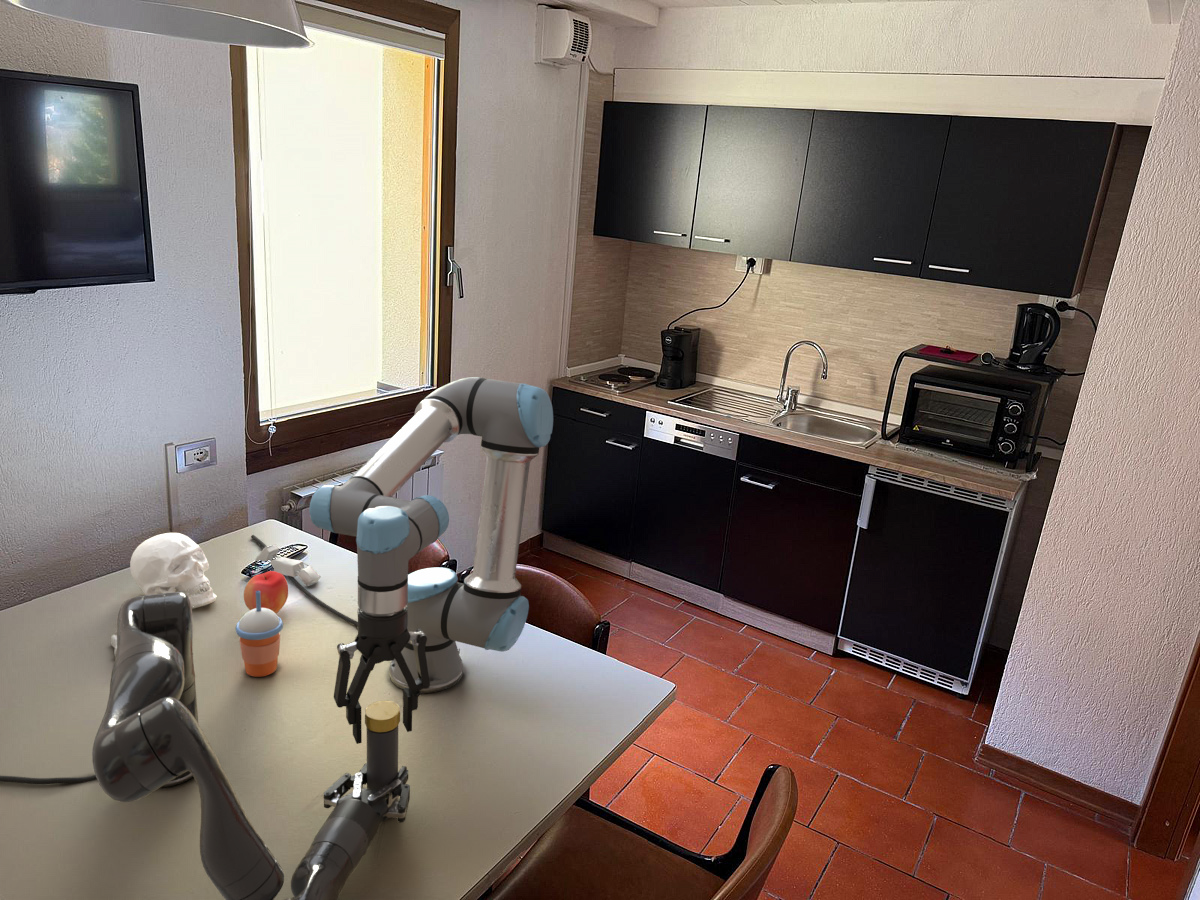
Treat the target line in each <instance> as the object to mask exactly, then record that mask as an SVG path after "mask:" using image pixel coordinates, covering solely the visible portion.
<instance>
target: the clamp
mask: <svg viewBox="0 0 1200 900" xmlns="http://www.w3.org/2000/svg"><path fill="white" fill-rule="evenodd" d="M266 546H267V547H265V548H264V549H263V548H262V550H261V551H260V552H259V554H258V555H257V556H256V557H255V559H254V562H255V563H256V561H259V560H262V561H268V560H271V562H270V563H269V564H271V565H272V566H273V568H274V571H275V572H278V573H281V574H282V575H283V576H286V575H287V576H292V577H294V578H296V577H298V578H299V579H300V580H301V582H303V584H304V585H305V587H309V586H312V585H314V584H316V583H318V582H319V580H320V579H321V578H322V577H321V575H320V574H319V573H318V572H317V570H315V569H314V568H313V566H312V565H310V564H309V565H308V564H307V563H305V562H304V561H303V560H301V559H300V560H299V559H292V558H289V557H285V556H278V553H279V551H280V549H281V547H279V546H278V545H277V544H272V545H266ZM275 557H277V559H276V558H275ZM273 558H275V559H274V560H272V559H273ZM305 566H306V567H305ZM270 571H271V570H270ZM287 576H286V577H287Z"/></svg>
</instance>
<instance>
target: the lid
mask: <svg viewBox="0 0 1200 900" xmlns="http://www.w3.org/2000/svg"><path fill="white" fill-rule="evenodd" d="M400 710H401V708H400V705H399V704H398V703H396V702H394V701H391V700H377V701H374V702H371V703H370V704H369V705H367V707H366V708H365V712H364V713H365V714H364V724H365V726H366V729H367V728H368V729H369V730H371V731H374V732H387V731H390V730H393V729H394V728H396V727H397V726H398V727H399V725H400V722H401V711H400Z"/></svg>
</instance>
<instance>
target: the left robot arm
mask: <svg viewBox="0 0 1200 900" xmlns="http://www.w3.org/2000/svg"><path fill="white" fill-rule="evenodd" d="M193 624H194V623H193V608H192V607H191V603H190V600H189V598H188V596H187V595H186V594H185V593H183V592H178V591H176V592H172V593H165V594H155V595H147V596H146V595H140V596H134V597H132V598H128V599H127V600H124V602H123V603H122V604H121V606H120V608H119V610H118V613H117V619H116V635H117V652H116V656H115V657H114V662H113V666H112V671H111V676H110V683H109V695H108V700H107V705H106V709H105V712H104V715H103V717H102V720H101V723H100V725H99V728H97V729H98V730H97V732H96V735H95V737H94V741H93V744H92V753H91V754H92V755H91V757H92V758H91V759H92V767H93V771H94V774H93V775H88V776H82V777H81V776H80V777H44V778H43V777H42V778H41V777H26V776H13V775H0V782H1V783H2V782H3V783H17V784H28V785H29V784H30V785H54V784H55V785H57V784H80V783H81V784H82V783H85V782H91V781H95V780H96V781H97V782H98V784H99V786H100V788H101V790H103V792H104V793H105V794H106V795H107V796H108V797H110V799H113V800H115V801H118V802H121V803H130V802H131V803H132V802H135V801H138V800H141V799H143V798H145V797H147V796H148V795H149V796H150V795H151V794H152V793H154V792H155V791H157V790H159V789H160V788H168V787H173V786H178V785H181V784H183V783H185V782H187V781H189V780H191V779H192V778H193V779H194V781H195V783H196V786H197V788H198V792H199V797H200V828H199V855H200V860H201V864H202V867H203V870H204V871H205V874H206V875H207V877H208V878H209V880H210V881H211V882H212V884H213V885H214V887H215V888H216V889H217V891H218V892H219V893H220V894H221V896H222V897H223V898H224V900H275V898H276V897H277V896H278V895H279V893H280V892H281V890H282V888H283V886H284V883H285V873H284V871H283V868H282V866H281V865H280V862H279V861H278V860H277V859H276V858H275V856H274V855H273V853H272V852H271V850H270V849H269V848H268V846H267V844H266V843H265V842H264V840H263V839H262V837H261V836H260V835H259V833H258V831H257V830H256V828H255V827H254V826H253V825H252V822H251V821H250V819H249V817H248V816H247V814H246V812H245V810H244V808H243V806H242V805H241V802H240V800H239V798H238V796H237V794H236V792H235V790H234V788H233V786H232V784H231V782H230V779H229V777H228V776H227V774H226V772H225V770H224V768H223V766H222V765H221V763H220V761H219V759H218V757H217V755H216V753H215V751H214V750H213V747H212V745H211V744H210V742H209V740H208V738H207V736H206V734H205V732H204V731H203V729H202V728H201V725H200V724H199V715H198V714H199V713H198V701H197V700H198V699H197V687H196V673H195V664H194V649H193V648H194V647H193V646H194V645H193V641H194V640H193V638H194V637H193V635H194V634H193V633H194V632H193V629H194V628H193V627H194V626H193ZM408 781H409V769H408V766H406V765H402V766H401V767H400V768H399V769H398V774H397V775H396V777H395V779H394V781H393V782H392V783H391V784H389V785H388V786H387V785H385V786H383V787H382V788H381V789H379V790H378V791H377V790H369V789H367V787H364V785H366V786H367V762H365V763H363V765H362V767H361V769H360V770H359V771H358V772H356V773H355V774H353V775H352V774H351V773H350V772H346V773H344V774H342V775H341V776H340V777H339V778H338V779H337V780H336V781H335V782H333V783H332V784H331V785H330V786H329V787H328V788H327V789H326V790H325V791H324V792H323V808H325V809H329V808H332V807H333V809H332V811H331V812H330V814H329V815H328V817H327V819H326V820H325V821H324V823H322V826H321V827H320V828H319V830H318V832H317V833H316V834H315V837H314V838H313V840H312V842H311V844H310V846H309V848H308V850H307V851H306V852H305V854H304V856H302V858H301V859H300V862H299V863H298V865H297V866H296V868H295V869H294V871H293V873H292V876H291V879H290V891H291V893H292V895H293V897H289V898H286V899H284V900H339V896H340V895H339V894H340V892H341V891H342V889H343V888H344V886H345V884H346V882H347V881H348V879H349V878H350V876H351V874H352V872H353V871H354V870H355V869H356V868H357V866H358V865H359V864H360V862H361V860H362V859H363V857H365V855H366V854H367V853H366V852H367V850H368V848H369V846H370V845H371V843H372V841H373V839H374V838H375V836H376V835H377V833H378V831H379V829H380V827H381V825H382V823H384V822H385V821H387V820H388V819H391V818H395V819H397V822H398V823H404V822H405V821H406V819H407V814H408V810H409V809H408V808H409V804H410V800H411V785H410V784H409V783H407V782H408ZM351 789H352V792H349V790H351ZM347 792H349V793H348V794H347ZM396 798H398V802H396V804H395V805H394V806H393V808H391V809H389V808H388V807H390V806H391V804H392V802H393V801H394V800H395V799H396ZM387 818H388V819H387Z"/></svg>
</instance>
